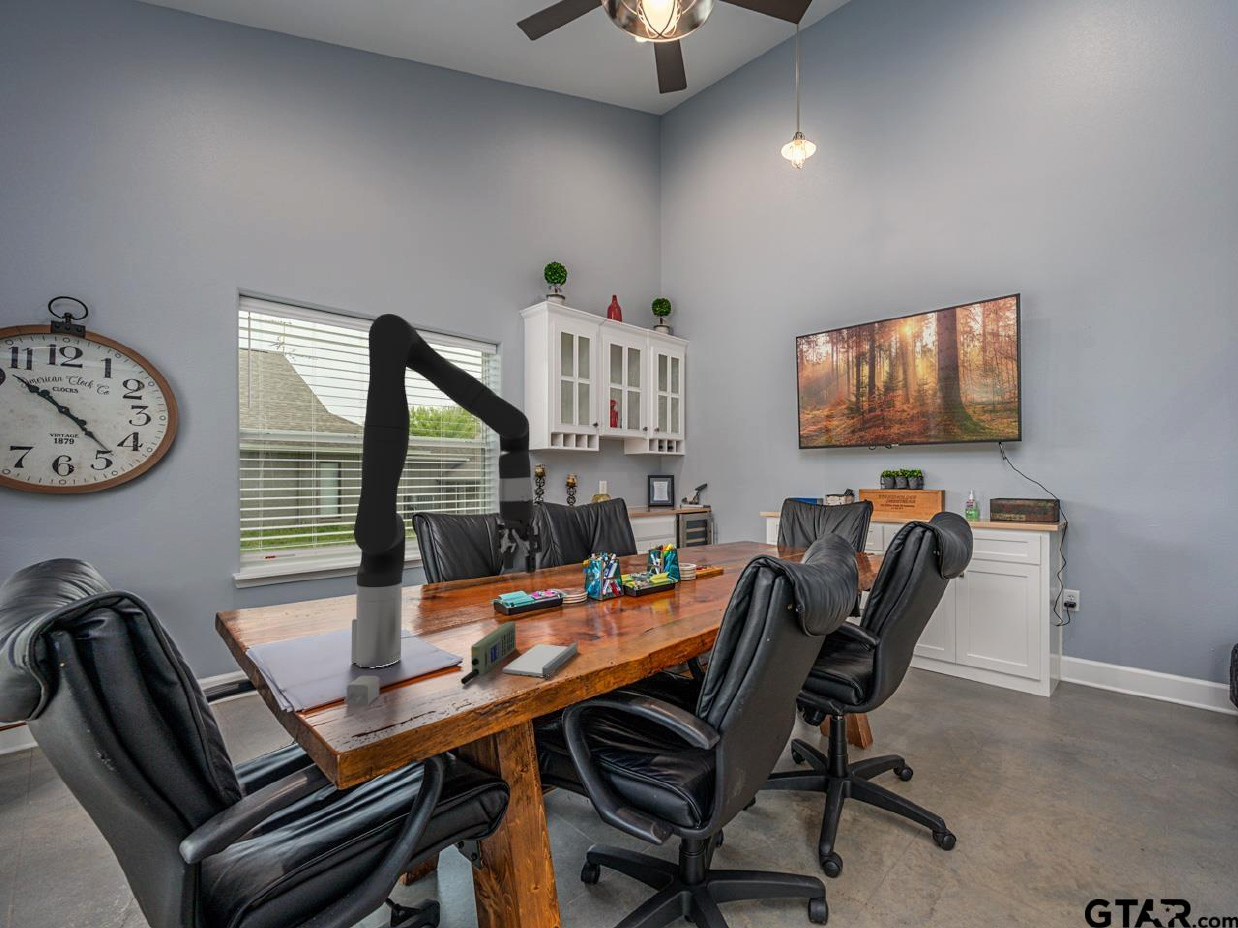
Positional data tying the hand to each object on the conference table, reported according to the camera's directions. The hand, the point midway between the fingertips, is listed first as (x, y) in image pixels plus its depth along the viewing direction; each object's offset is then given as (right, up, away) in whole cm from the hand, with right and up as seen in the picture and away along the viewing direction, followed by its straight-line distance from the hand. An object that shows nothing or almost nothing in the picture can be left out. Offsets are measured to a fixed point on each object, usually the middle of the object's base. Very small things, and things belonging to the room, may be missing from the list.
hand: (519, 570), depth 131 cm
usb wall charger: (-24, -20, -25) cm, 40 cm away
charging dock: (+5, -20, -1) cm, 21 cm away
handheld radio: (-6, -20, -4) cm, 21 cm away
